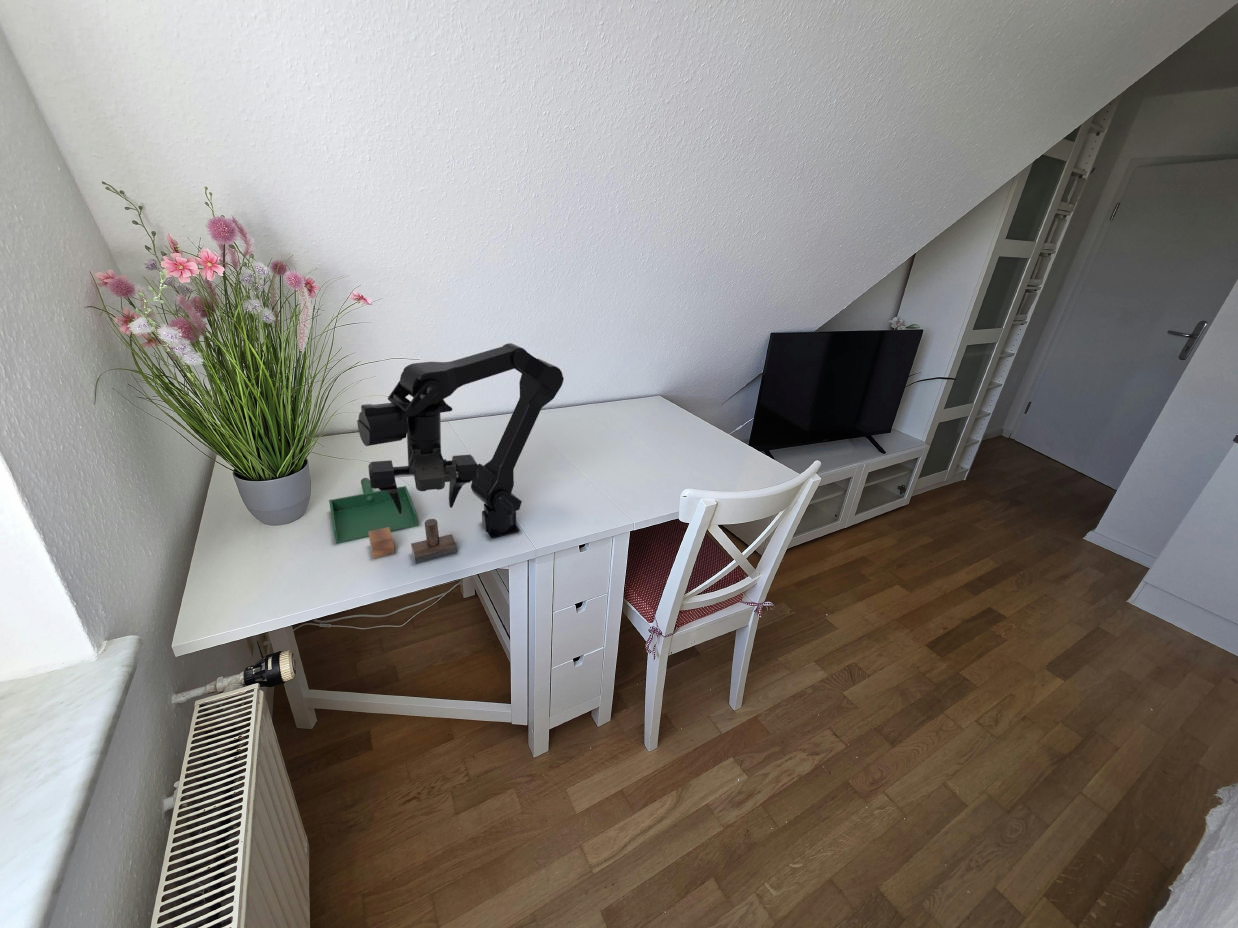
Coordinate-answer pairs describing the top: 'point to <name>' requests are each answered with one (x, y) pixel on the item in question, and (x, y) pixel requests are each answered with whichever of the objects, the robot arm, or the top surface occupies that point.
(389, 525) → the dustpan
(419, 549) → the brush
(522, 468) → the top surface
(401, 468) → the robot arm
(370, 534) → the brown wooden cube
